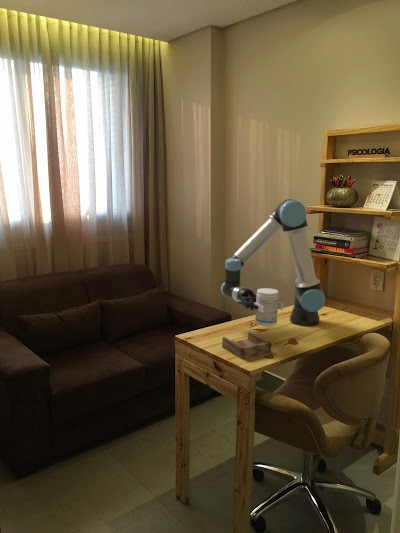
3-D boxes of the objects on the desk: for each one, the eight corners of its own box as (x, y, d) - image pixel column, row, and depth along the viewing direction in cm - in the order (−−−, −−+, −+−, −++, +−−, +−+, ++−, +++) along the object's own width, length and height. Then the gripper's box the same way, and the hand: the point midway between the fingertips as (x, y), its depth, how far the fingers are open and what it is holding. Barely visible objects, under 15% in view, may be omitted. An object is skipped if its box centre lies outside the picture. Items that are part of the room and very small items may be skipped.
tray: (249, 341, 207) (250, 332, 206) (270, 352, 194) (271, 342, 193) (222, 347, 200) (222, 337, 199) (241, 359, 187) (242, 348, 186)
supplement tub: (255, 318, 205) (256, 287, 203) (276, 320, 204) (278, 288, 201) (255, 325, 196) (256, 292, 193) (277, 327, 195) (279, 293, 192)
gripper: (262, 300, 220) (292, 313, 201) (223, 306, 209) (251, 319, 190) (262, 285, 218) (293, 296, 199) (223, 290, 208) (252, 302, 189)
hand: (273, 308), depth 195 cm, fingers closed on supplement tub, 9 cm apart
